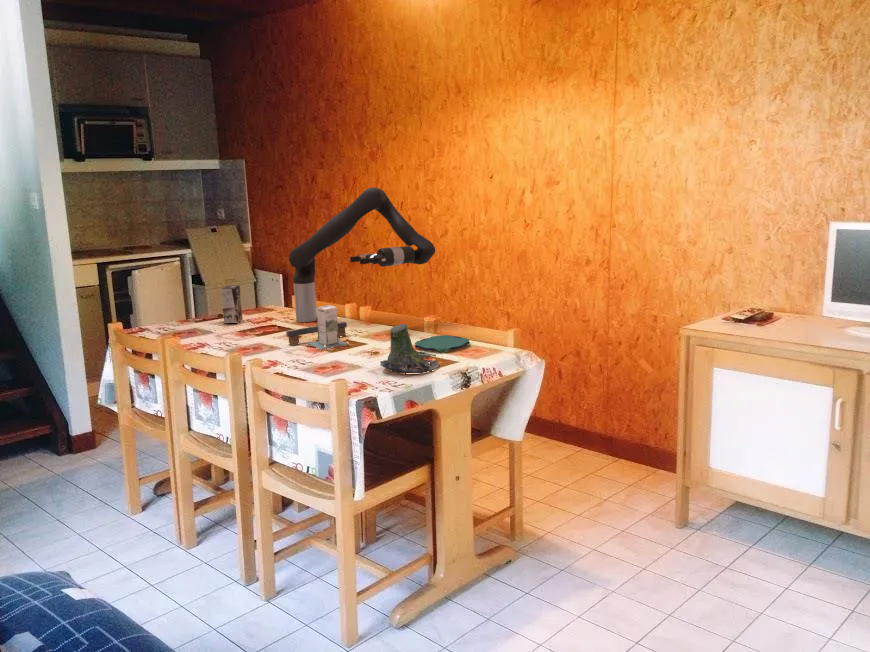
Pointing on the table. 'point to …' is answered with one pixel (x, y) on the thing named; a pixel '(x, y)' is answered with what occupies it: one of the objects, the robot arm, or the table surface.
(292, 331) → the crossbar
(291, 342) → the bar stand
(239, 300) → the coffee box
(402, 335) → the tree stump
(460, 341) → the teal irregular flat slab
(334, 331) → the syrup box
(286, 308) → the table surface
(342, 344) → the slate mat
